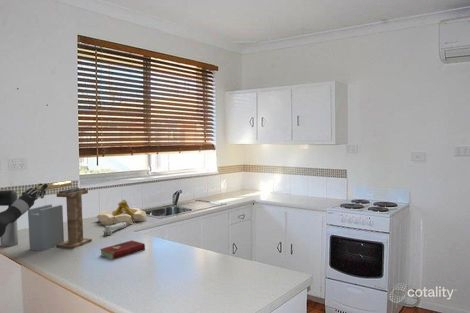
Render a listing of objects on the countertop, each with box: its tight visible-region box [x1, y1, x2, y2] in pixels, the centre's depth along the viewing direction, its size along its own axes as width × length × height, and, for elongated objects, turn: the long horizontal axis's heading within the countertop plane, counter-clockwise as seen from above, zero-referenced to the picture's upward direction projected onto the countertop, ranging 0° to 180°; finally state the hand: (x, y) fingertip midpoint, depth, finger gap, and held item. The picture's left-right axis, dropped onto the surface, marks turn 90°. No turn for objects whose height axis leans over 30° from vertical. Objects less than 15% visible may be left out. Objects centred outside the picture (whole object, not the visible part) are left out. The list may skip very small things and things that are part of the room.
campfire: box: [96, 199, 147, 226], centre depth 293 cm, size 35×34×17 cm
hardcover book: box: [99, 240, 146, 260], centre depth 214 cm, size 12×21×4 cm, turn 142°
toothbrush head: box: [103, 222, 128, 236], centre depth 262 cm, size 5×7×25 cm
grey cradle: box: [27, 203, 65, 252], centre depth 228 cm, size 16×10×24 cm, turn 161°
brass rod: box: [35, 180, 73, 192], centre depth 216 cm, size 24×3×3 cm, turn 161°
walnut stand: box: [55, 187, 93, 250], centre depth 231 cm, size 16×12×33 cm
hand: (44, 184), depth 210 cm, fingers closed on brass rod, 3 cm apart
